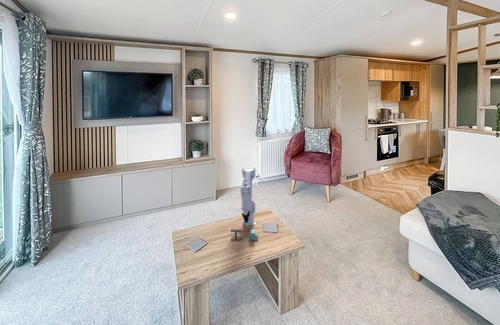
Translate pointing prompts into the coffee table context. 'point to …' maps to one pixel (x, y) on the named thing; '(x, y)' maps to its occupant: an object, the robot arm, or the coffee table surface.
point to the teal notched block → (252, 234)
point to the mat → (255, 238)
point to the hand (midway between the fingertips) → (246, 220)
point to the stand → (236, 237)
